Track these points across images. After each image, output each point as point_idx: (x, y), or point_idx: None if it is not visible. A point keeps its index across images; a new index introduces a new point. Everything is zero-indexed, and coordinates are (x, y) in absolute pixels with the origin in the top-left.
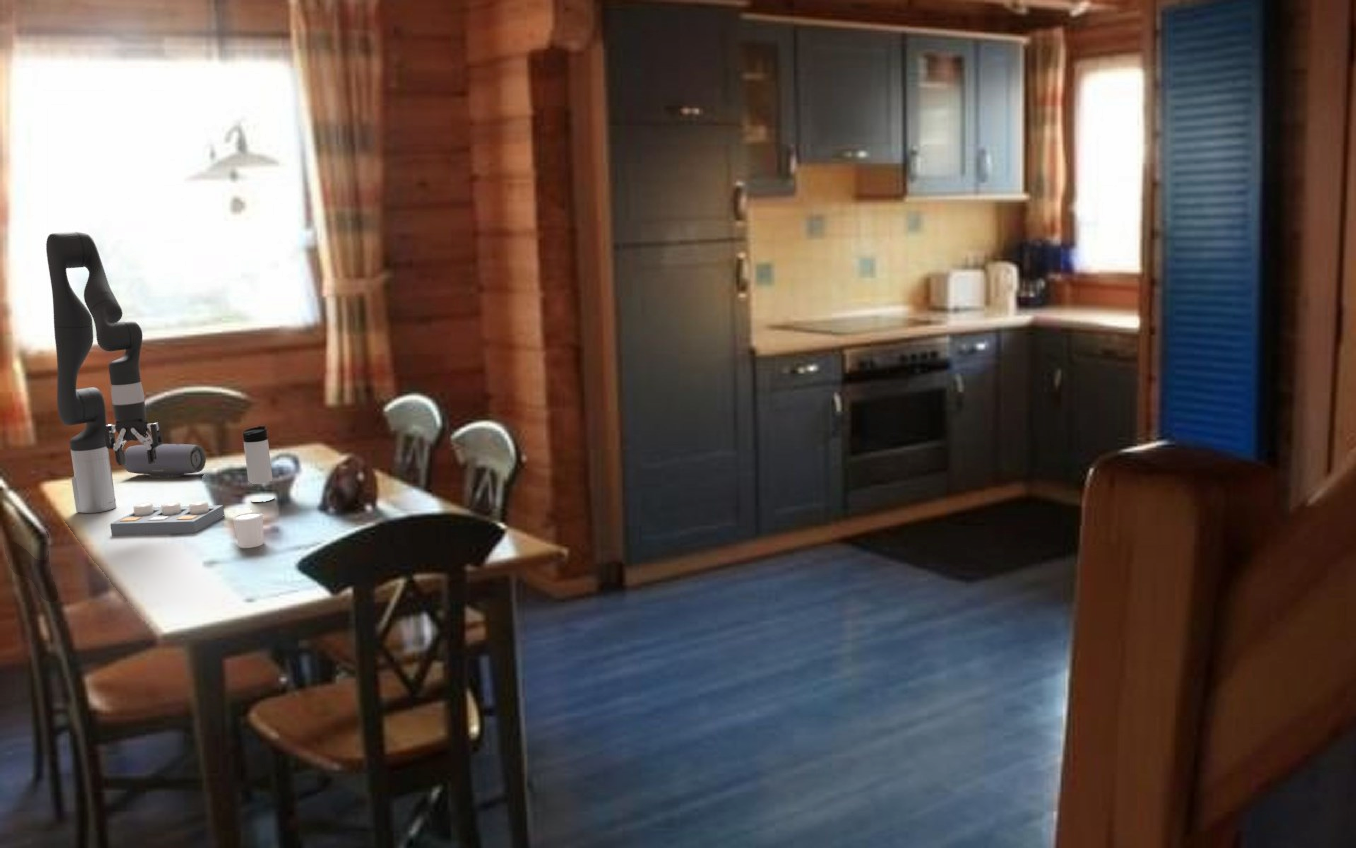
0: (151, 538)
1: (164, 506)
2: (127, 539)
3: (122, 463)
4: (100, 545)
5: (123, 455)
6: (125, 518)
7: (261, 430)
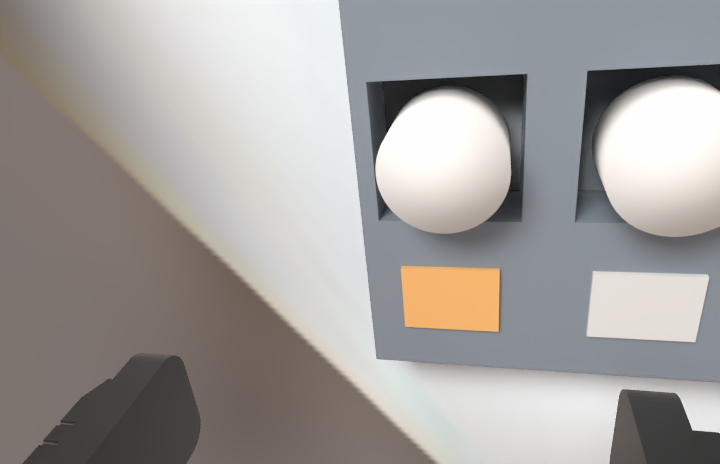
0: None
1: (651, 221)
2: (515, 390)
3: (186, 416)
4: (437, 449)
5: (111, 461)
6: (407, 286)
7: None
